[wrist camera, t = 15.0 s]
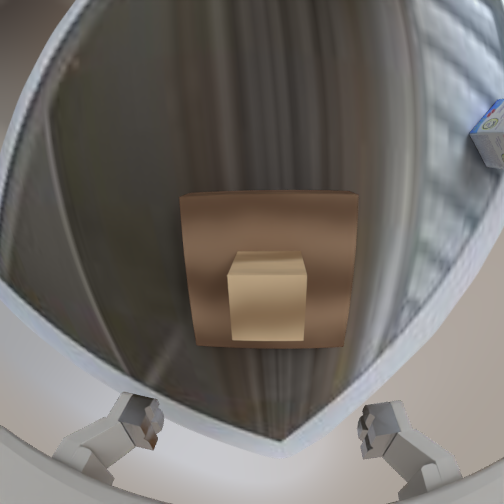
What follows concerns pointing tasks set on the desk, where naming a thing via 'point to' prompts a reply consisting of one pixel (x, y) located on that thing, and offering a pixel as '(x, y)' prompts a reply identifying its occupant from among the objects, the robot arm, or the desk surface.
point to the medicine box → (491, 136)
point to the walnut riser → (270, 239)
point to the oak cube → (267, 296)
